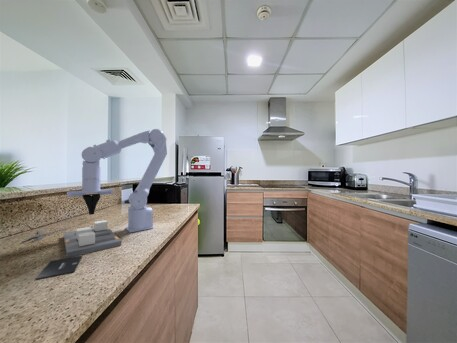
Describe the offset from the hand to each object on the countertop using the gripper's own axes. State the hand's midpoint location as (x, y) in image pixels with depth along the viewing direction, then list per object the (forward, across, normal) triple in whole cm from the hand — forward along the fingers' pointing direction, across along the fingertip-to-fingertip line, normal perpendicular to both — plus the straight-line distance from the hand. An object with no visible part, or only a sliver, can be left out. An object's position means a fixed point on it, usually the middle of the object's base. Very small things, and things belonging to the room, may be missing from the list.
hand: (91, 214), depth 74 cm
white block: (+6, +3, +15) cm, 16 cm away
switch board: (+8, +1, +7) cm, 11 cm away
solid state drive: (+9, +9, +24) cm, 28 cm away
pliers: (+9, +12, -14) cm, 20 cm away
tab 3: (+6, -3, 0) cm, 7 cm away
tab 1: (+6, +3, +7) cm, 10 cm away
